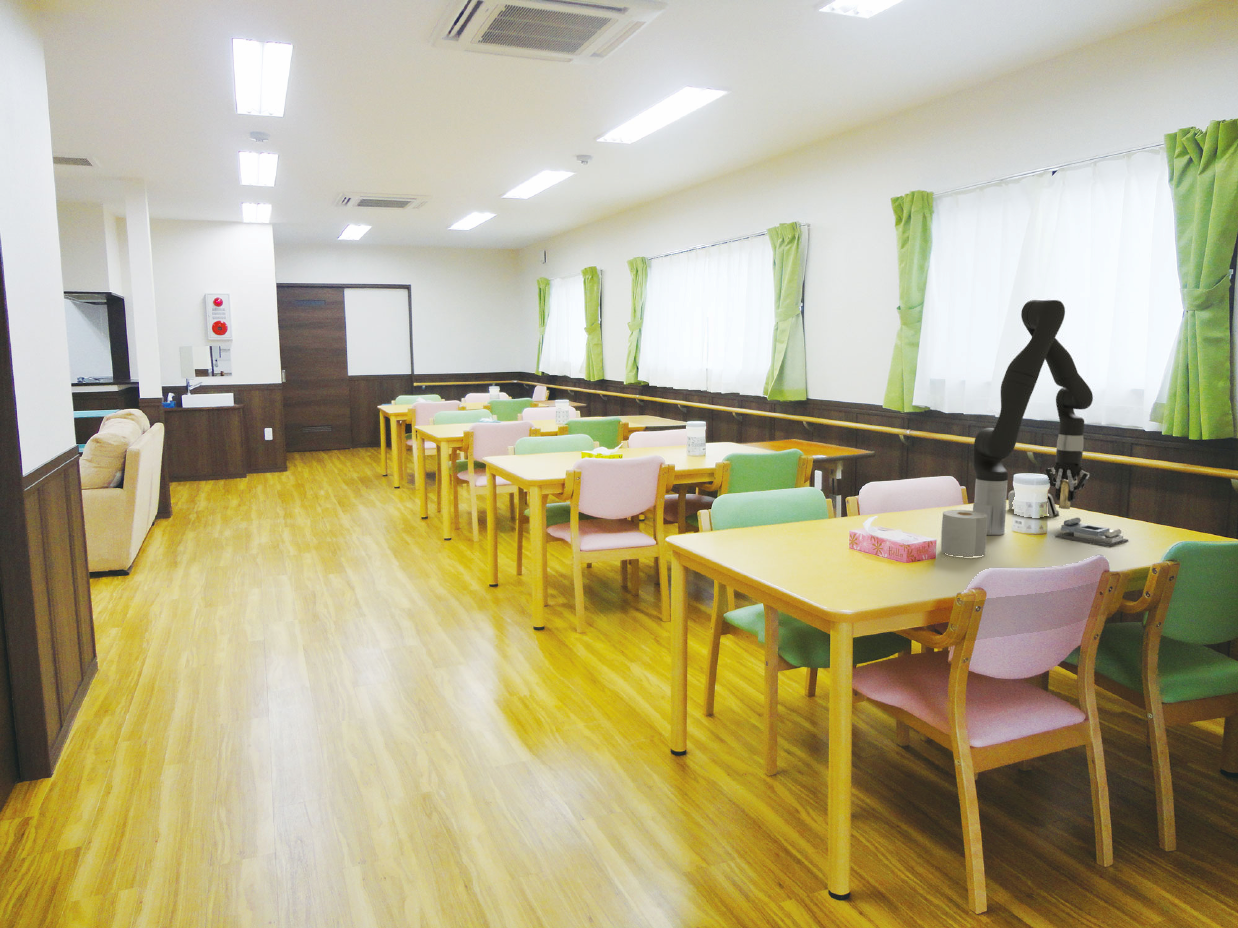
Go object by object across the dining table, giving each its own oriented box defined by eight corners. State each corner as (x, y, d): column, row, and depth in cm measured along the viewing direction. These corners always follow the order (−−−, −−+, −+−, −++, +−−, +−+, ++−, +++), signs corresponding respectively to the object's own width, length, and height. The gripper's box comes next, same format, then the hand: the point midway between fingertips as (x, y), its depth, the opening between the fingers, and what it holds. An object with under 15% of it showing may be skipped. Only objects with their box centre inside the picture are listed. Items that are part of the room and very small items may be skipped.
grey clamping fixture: (1111, 543, 243) (1113, 528, 243) (1060, 534, 255) (1061, 519, 255) (1122, 540, 247) (1124, 524, 247) (1072, 531, 259) (1073, 516, 259)
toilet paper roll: (955, 559, 230) (957, 519, 228) (932, 549, 242) (934, 510, 240) (994, 557, 232) (996, 517, 230) (969, 547, 244) (971, 508, 242)
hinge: (1060, 515, 285) (1056, 490, 282) (1052, 521, 283) (1047, 495, 280) (1017, 507, 300) (1012, 482, 297) (1008, 513, 298) (1004, 488, 295)
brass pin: (1066, 509, 267) (1069, 482, 265) (1056, 507, 269) (1059, 480, 268) (1071, 508, 269) (1074, 481, 267) (1061, 506, 271) (1064, 479, 270)
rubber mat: (1109, 547, 242) (1109, 545, 241) (1054, 536, 254) (1055, 535, 254) (1128, 541, 248) (1128, 539, 248) (1074, 531, 261) (1074, 530, 261)
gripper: (1042, 447, 270) (1037, 498, 272) (1086, 451, 258) (1081, 505, 261) (1053, 445, 274) (1049, 496, 276) (1097, 450, 263) (1093, 502, 265)
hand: (1065, 500), depth 268 cm, fingers closed on brass pin, 3 cm apart
